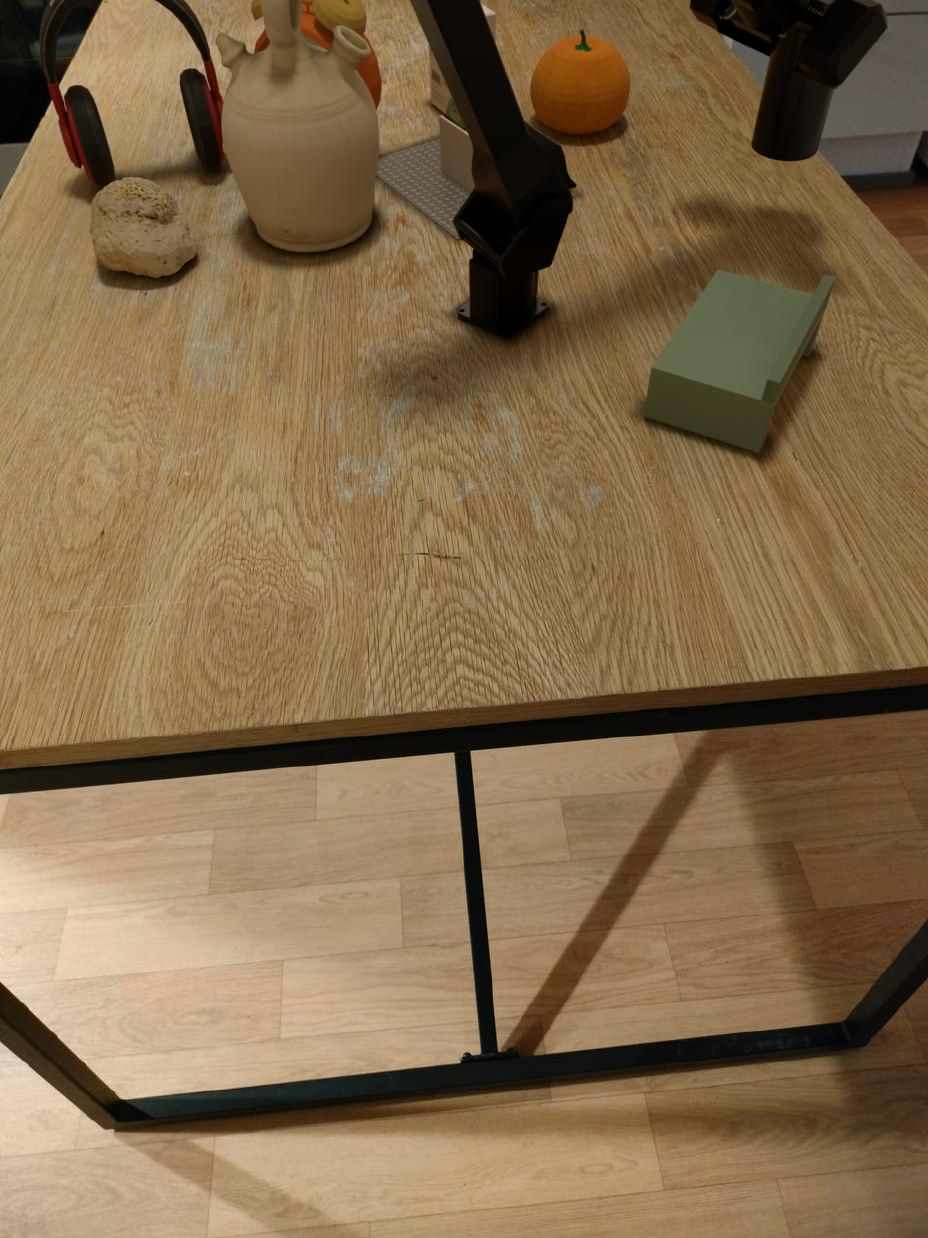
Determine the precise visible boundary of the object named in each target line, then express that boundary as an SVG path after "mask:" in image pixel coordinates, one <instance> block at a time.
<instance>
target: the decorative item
mask: <svg viewBox="0 0 928 1238" xmlns="http://www.w3.org/2000/svg"><path fill="white" fill-rule="evenodd" d="M91 202H92V203H91V205H90V212H91V214H90V221H89V232H90V235H91V244H92V246H93V251H94V256H95V258H96V260H97V261H98V263H99V264H100V265H101V266H102V267H104V268H105V269H108V270H110V271H116V272H124V271H125V272H128V273H130V274H134V275H136V276H143V277H151V278H154V279H158V278H160V277H162V276H164V277H165V276H166V277H167V276H170V275H173V274H175V273H177V272H179V271H180V270H181V269H182V268H183V266H184V265H185V264H186V263H187V262H188V261H190V260H191V259H194V257H195V256H196V255H197V254H198V240H197V238H196V236H195V234H194V231H192V229H191V227H190V225H189V222H188V220H187V219H186V218H185V216H184V214H183V212H181V211H180V209H179V205H178V201H177V200H176V199H175V197H174V196H173V195H172V193H170V192H169V191H166V190H165V189H163V187H161V186H160V185H159V184H157V183H155V182H154V181H151V180H150V179H147V178H142V177H139V176H138V177H137V176H128V177H127V176H126V177H123V178H122V179H121V180H120V179H115V180H114V181H113V182H111V183H110V184H109V185H107V186H104V187H103V188H102V189H101V190H99V191H98V192H97V193H96V194H95V195H94V197H93V199H92V200H91Z"/></svg>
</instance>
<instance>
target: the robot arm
mask: <svg viewBox="0 0 928 1238" xmlns="http://www.w3.org/2000/svg"><path fill="white" fill-rule="evenodd" d="M409 2H410V4H411V6H412V9H413V12H414V13H415V16H416V18H417V21H418V23H419V25H420V27H421V29H422V31H423V35H424V37H425V38H426V39H425V40H426V41H427V43H428V47H429V46H430V48H431V50H432V52H433V55H434V57H435V59H436V62H437V64H438V66H439V68H440V71H441V73H442V75H443V78H444V80H445V82H446V85H447V87H448V89H449V91H450V94H451V96H452V98H453V101H454V103H455V105H456V107H457V110H458V112H459V114H460V117H461V119H462V121H463V123H464V126H465V128H464V129H465V130H467V133H468V135H469V137H470V140H471V142H472V146H473V156H472V166H471V172H472V176H473V180H474V184H475V188H474V190H473V191H472V192H471V194H470V195H469V197H468V198H467V200H466V201H465V203H464V204H463V205H462V207H461V208H460V210H459V211H458V213H457V214H456V215H455V217H454V218H453V224H454V227H455V229H456V232H457V234H458V237H459V238H460V240H461V241H464V242H465V243H466V244H467V245H468V246H469V247H470V248H471V249H472V257H471V258H470V259H469V260H468V280H469V282H468V285H469V289H468V290H469V291H468V293H469V295H468V296H469V300H468V301H467V302H466V303H464V304H463V305H462V306H460V307H459V308H457V309H456V316H457V317H458V318H460V319H462V320H465V321H467V322H469V323H471V324H473V325H476V326H477V327H480V328H482V329H484V330H486V331H489V332H491V333H493V334H495V335H497V336H500V337H502V338H504V339H507V340H511V339H513V338H515V337H516V336H517V335H519V334H520V333H521V332H522V331H524V330H525V329H526V328H527V327H529V326H530V325H531V324H532V323H534V322H535V321H536V320H538V319H539V318H540V317H541V316H543V315H545V313H546V312H548V311H549V310H550V303H549V302H548V301H545V300H543V299H542V298H538V297H537V295H538V290H539V271H542V270H544V269H548V268H550V267H552V264H553V262H554V259H555V256H556V253H557V250H558V248H559V245H560V242H561V239H562V237H563V234H564V231H565V229H566V227H567V222H568V219H569V216H570V214H572V213H573V211H574V199H573V197H572V193H573V192H572V190H573V189H576V188H577V183H576V182H575V181H574V180H573V179H572V178H571V175H570V174H569V171H568V166H567V160H566V155H565V152H564V150H563V147H562V145H560V144H559V143H557V142H556V141H555V140H553V139H552V138H551V137H549V136H548V135H546V134H545V133H543V131H540V130H539V129H537V128H536V127H535V126H534V125H532V124H531V123H529V122H528V121H526V120H525V118H524V116H523V113H522V110H521V108H520V105H519V102H518V100H517V97H516V94H515V91H514V89H513V86H512V83H511V81H510V78H509V76H508V72H507V70H506V67H505V64H504V62H503V59H502V56H501V54H500V51H499V48H498V46H497V43H495V40H494V37H493V35H492V32H491V29H490V27H489V24H488V21H487V18H486V16H485V13H484V10H483V8H482V5H483V4H482V3H481V0H409ZM481 4H482V5H481ZM689 9H690V11H691V12H692V14H693V16H694V17H695V19H696V20H697V21H698V22H700V23H702V24H704V25H706V26H708V27H710V28H712V29H714V30H716V31H717V32H718V34H721V35H723V36H725V37H727V38H729V39H730V40H732V41H734V42H737V43H739V44H741V45H743V46H746V47H747V48H749V49H752V50H753V51H755V52H758V53H760V54H762V55H763V56H764V55H765V56H767V57H768V58H770V55H771V50H772V45H773V42H774V41H775V40H776V38H777V37H778V36H781V37H783V38H784V37H786V36H787V35H788V34H789V32H790V31H791V29H792V27H794V28H796V29H798V30H800V31H802V32H804V33H807V34H808V36H807V37H806V38H805V39H804V41H803V42H802V43H801V46H800V50H799V54H798V58H797V62H798V65H797V66H796V67H795V68H794V71H796V72H798V73H800V74H802V75H804V76H806V77H808V78H810V79H812V80H814V81H817V82H819V83H821V84H824V85H826V86H828V87H831V88H833V89H834V90H837V89H838V88H839V87H840V86H841V85H843V84H844V83H845V81H846V79H847V78H849V76H850V75H851V74H852V72H853V71H854V70H855V69H856V67H857V66H858V65H859V63H860V62H861V61H862V60H863V58H865V56H866V55H867V54H868V53H869V51H870V50H872V48H873V46H874V45H875V44H876V42H878V40H879V39H880V38H881V37H882V35H883V34H884V33H885V31H886V30H887V29H888V20H889V19H888V16H887V14H886V12H885V9H884V7H883V4H882V3H880V2H878V1H875V0H834V1H833V2H831V3H830V4H826V3H824V2H822V1H820V0H690V2H689Z"/></svg>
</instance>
